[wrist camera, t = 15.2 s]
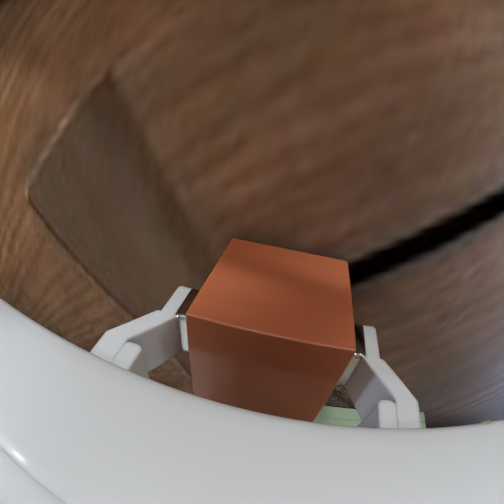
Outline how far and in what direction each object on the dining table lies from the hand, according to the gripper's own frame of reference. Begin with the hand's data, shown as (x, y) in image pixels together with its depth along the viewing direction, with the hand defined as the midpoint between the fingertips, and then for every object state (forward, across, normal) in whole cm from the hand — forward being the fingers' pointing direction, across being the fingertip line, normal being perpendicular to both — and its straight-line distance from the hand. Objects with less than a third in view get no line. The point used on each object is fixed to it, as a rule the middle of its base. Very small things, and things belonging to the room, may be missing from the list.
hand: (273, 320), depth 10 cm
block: (+2, 0, 0) cm, 2 cm away
